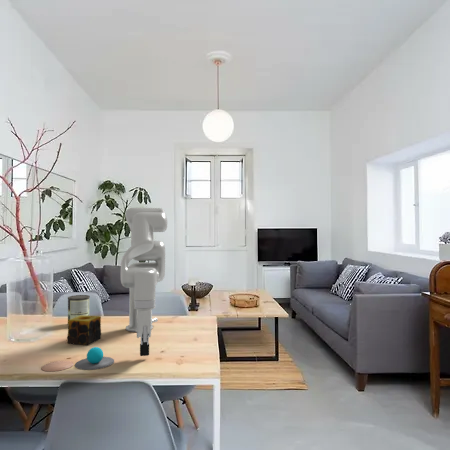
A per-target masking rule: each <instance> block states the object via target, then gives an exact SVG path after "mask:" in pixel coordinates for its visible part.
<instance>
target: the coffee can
mask: <svg viewBox="0 0 450 450" xmlns="http://www.w3.org/2000/svg"><path fill="white" fill-rule="evenodd" d="M81 315H85V316H90V295H87V294H77V295H71V296H67V321H68V320H70V319H73V318H75V317H78V316H81Z"/></svg>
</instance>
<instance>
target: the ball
mask: <svg viewBox="0 0 450 450" xmlns="http://www.w3.org/2000/svg"><path fill="white" fill-rule="evenodd" d="M103 357H104V351H103V350H102V348H101V347H99V346H98V347H97V346H93V347H92V348H90V349H89V350H88V351H87V352H86V358H87V360H88V361H89V362H90V363H92V364H96V363H99V362H100V361H101V360H102V358H103Z"/></svg>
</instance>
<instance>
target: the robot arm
mask: <svg viewBox="0 0 450 450" xmlns="http://www.w3.org/2000/svg"><path fill="white" fill-rule="evenodd" d="M124 215H125V220H126V222H127V225H128V227H129V229H130V234H131V235H130V238H131V239H130V241H131V242H130V246H129V248H128V249H126V251H125V252H124V254H123V256H122V259H121V261H120V283H121V285H122V287H124V288H125V289H128V288H129V290H128V291H129V300H128V301H129V303H128V304H129V311H128V312H129V316H128V317H129V321H128V325H126V327H125V330H126V331H127V332H133V333H135V332H136V338H137V339H139V338H140V343H139V356H140V357H146V356H147V357H149V355H150V342H149V341H150V338H151V336H152V329H153V328H154V325H153V323H157V322H159V321H158V318H157V317H154V318H153V310H154V309H156V286H157V285H158V283H161V282H162V281H164V279H165V275H166V274H165V273H166V246H165V243H164V242H162V241H161V240H155V239H154V233H163V232H164V233H165V232H166V231H167V228H168V218H167V214H166V212H165V210H164V209H163V208H162V207H161V208H160V207H129V208H128V209H126V210H125V214H124ZM132 260H134V261H138V262H134V263H133V262H132V263H131V264H130V261H132ZM139 261H141V262H139ZM145 261H146V262H145ZM149 261H150V262H149Z"/></svg>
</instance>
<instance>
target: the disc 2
mask: <svg viewBox="0 0 450 450" xmlns="http://www.w3.org/2000/svg"><path fill="white" fill-rule="evenodd" d="M114 363H115V359H114V358H112V357H110V356H103V358H102V360H101V361H100V362H99V363H96V364H92V363H90V362H89V361H88V360H87V357H86V358H83V359H81V360H78V361H75V364H74V367H75V368H76V369H78V370H83V371H92V370H94V371H95V370H101V369H105V368H108V367H111V365H113V364H114Z"/></svg>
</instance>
